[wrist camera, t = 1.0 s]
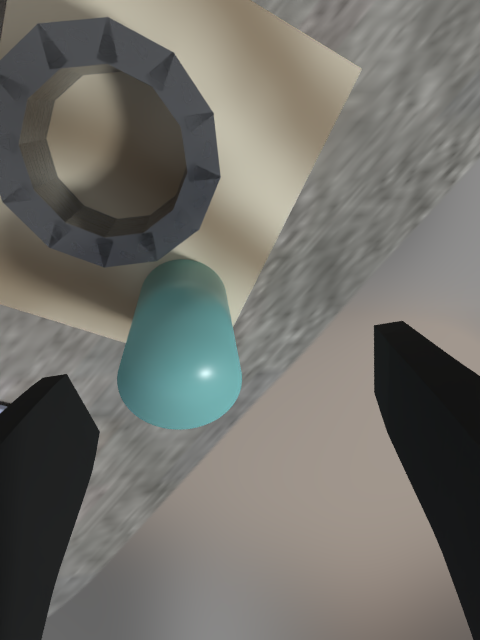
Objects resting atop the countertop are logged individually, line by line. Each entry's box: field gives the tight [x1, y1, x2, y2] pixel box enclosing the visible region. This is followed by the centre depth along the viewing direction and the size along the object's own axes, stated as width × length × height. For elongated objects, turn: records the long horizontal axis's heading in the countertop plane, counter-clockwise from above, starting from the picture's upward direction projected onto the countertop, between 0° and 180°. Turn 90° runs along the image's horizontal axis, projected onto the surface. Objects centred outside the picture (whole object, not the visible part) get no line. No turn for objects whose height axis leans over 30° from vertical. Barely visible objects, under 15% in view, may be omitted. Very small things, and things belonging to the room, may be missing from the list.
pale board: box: [0, 0, 362, 343], centre depth 18 cm, size 16×13×1 cm
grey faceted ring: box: [0, 17, 221, 268], centre depth 15 cm, size 8×8×3 cm
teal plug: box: [117, 259, 242, 429], centre depth 17 cm, size 4×4×7 cm
